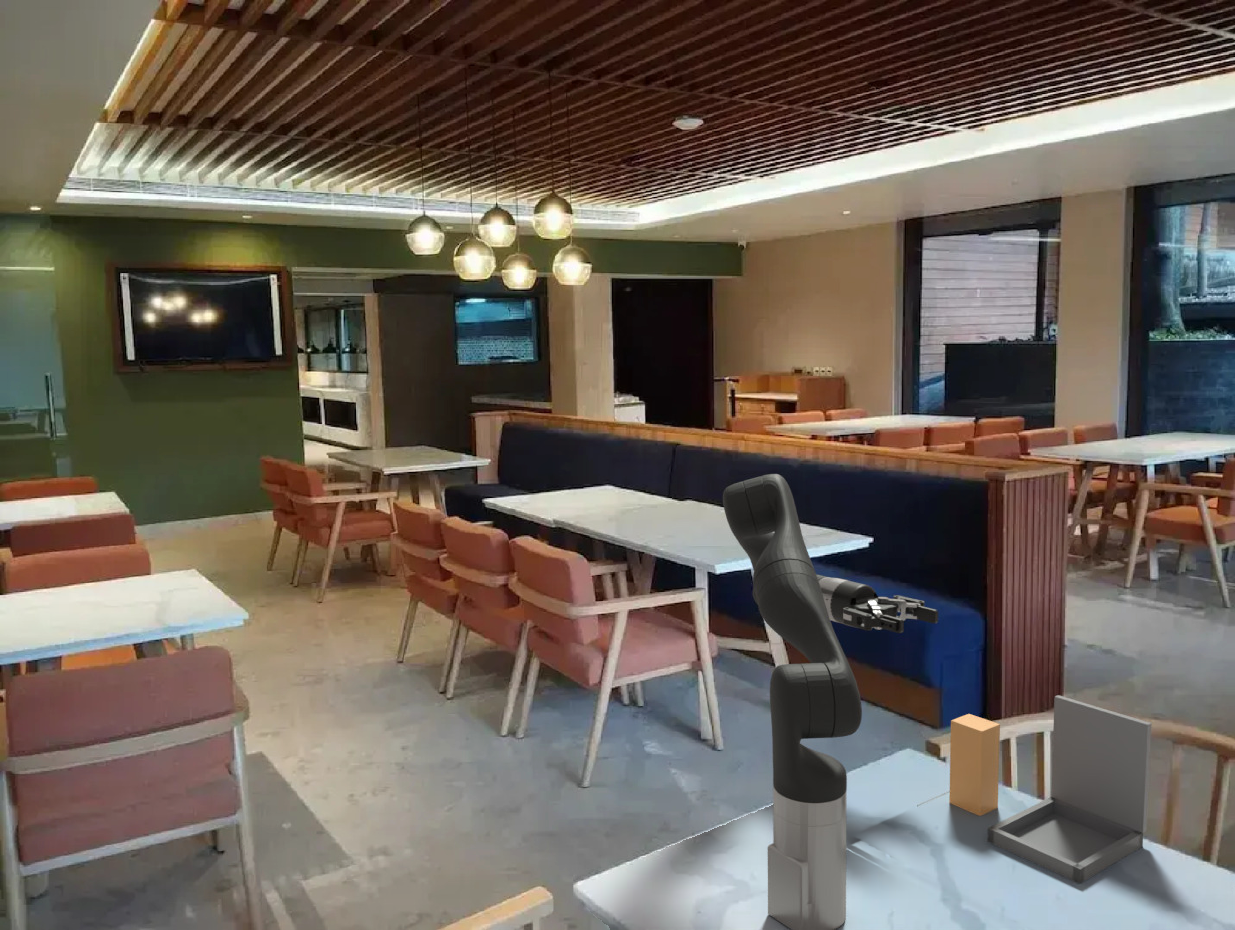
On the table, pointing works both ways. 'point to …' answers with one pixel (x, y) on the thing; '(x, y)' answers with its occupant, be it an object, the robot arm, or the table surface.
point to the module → (974, 764)
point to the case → (1086, 794)
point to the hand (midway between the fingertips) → (919, 621)
